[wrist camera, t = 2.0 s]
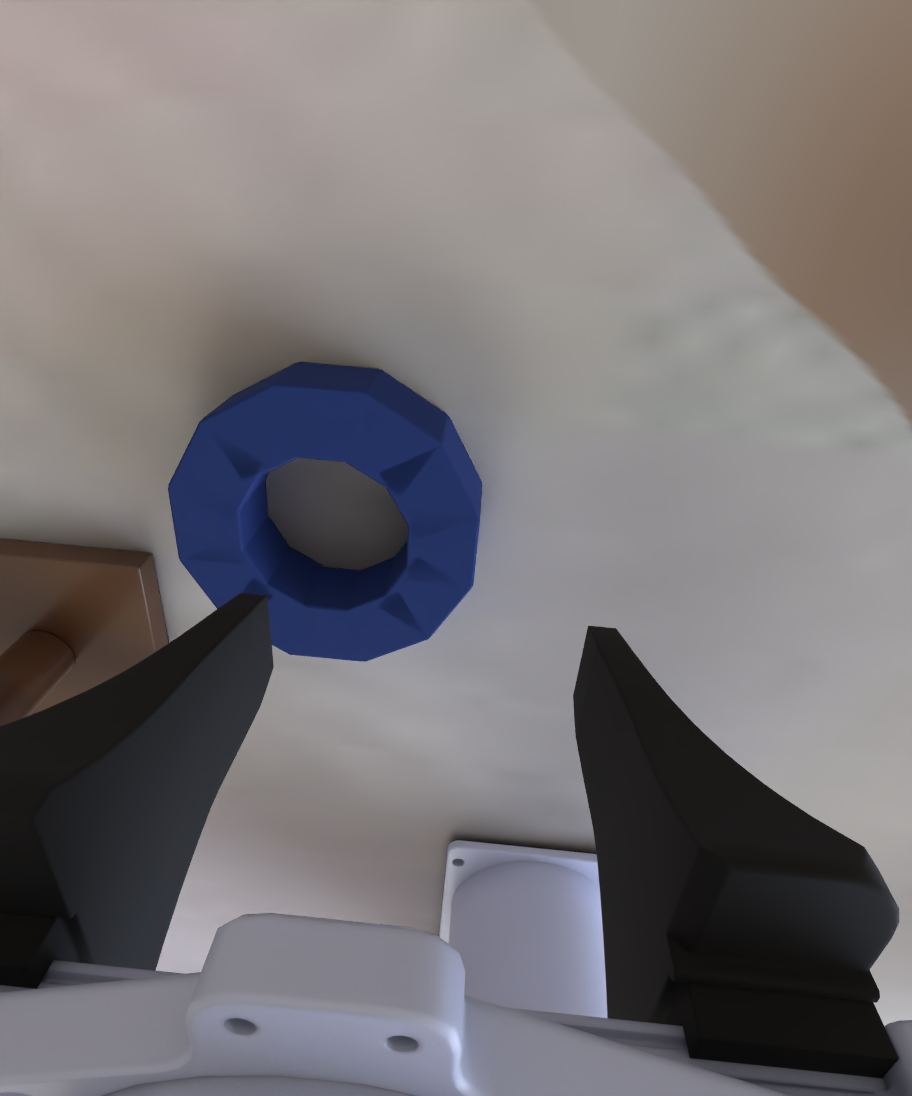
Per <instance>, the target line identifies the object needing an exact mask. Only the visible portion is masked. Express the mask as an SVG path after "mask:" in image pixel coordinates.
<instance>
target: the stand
mask: <svg viewBox="0 0 912 1096" xmlns="http://www.w3.org/2000/svg"><path fill="white" fill-rule="evenodd" d="M167 644H169V642H168V636H167V631H166V625H165V620H164V614H163V609H162V603H161V598H160V592H159V587H158V581H157V576H156V570H155V565H154V559H153V554H152V553H144V552H134V551H123V550H113V549H102V548H91V547H81V546H70V545H60V544H49V543H38V542H28V541H17V540H7V539H0V726H2V725H5V724H8V723H11V722H14V721H16V720H19V719H22V718H24V717H27V716H29V715H32V714H35V713H37V712H40V711H42V710H44V709H47V708H49V707H51V706H53V705H56V704H58V703H60V702H63V701H65V700H67V699H69V698H72V697H74V696H76V695H78V694H81V693H83V692H85V691H87V690H89V689H91V688H93V687H95V686H97V685H99V684H101V683H103V682H105V681H107V680H109V679H111V678H112V677H114V676H116V675H118V674H120V673H122V672H123V671H125V670H127V669H129V668H130V667H132V666H134V665H136V664H137V663H139V662H141V661H142V660H144V659H145V658H147V657H148V656H150V655H152V654H153V653H155V652H156V651H158V650H159V649H161V648H162V647H164V646H166V645H167Z"/></svg>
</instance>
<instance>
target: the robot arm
mask: <svg viewBox="0 0 912 1096" xmlns="http://www.w3.org/2000/svg"><path fill="white" fill-rule="evenodd" d="M272 670H273V656H272V644H271V633H270V621H269V609H268V598H267V595H257V594H246V593H240V594H238V595H237V596H235V597H234V598H232V599H231V600H230V601H228V602H227V603H225V604H224V605H223V606H221V607H220V608H218V609H217V610H216V611H214V612H213V613H212V614H210V615H209V616H207V617H206V618H205V619H203V620H202V621H201V622H199V623H198V624H196V625H195V626H193V627H192V628H191V629H189V630H188V631H186V632H185V633H184V634H182V635H181V636H179V637H178V638H176V639H175V640H173V641H172V642H170V643H169V644H167V645H166V646H164V647H162V648H161V649H159V650H158V651H156V652H155V653H153V654H152V655H150V656H148V657H147V658H145V659H144V660H142V661H141V662H139V663H137V664H136V665H134V666H132V667H130V668H129V669H127V670H125V671H123V672H122V673H120V674H118V675H116V676H114V677H112V678H111V679H109V680H107V681H105V682H103V683H101V684H99V685H97V686H95V687H93V688H91V689H89V690H87V691H85V692H83V693H81V694H78V695H76V696H74V697H72V698H69V699H67V700H65V701H63V702H60V703H58V704H56V705H53V706H51V707H49V708H47V709H44V710H42V711H40V712H37V713H35V714H32V715H29V716H27V717H24V718H22V719H19V720H16V721H14V722H11V723H8V724H5V725H2V726H0V1096H912V1020H905V1021H896V1022H893V1023H889V1024H887V1025H886V1026H885V1027H884V1025H883V1023H882V1021H881V1018H880V1016H879V1014H878V1012H877V1010H876V1007H875V1005H874V1003H873V1002H877V1001H878V1000H879V998H880V993H879V989H878V987H877V985H876V983H875V981H874V979H873V977H872V975H871V972H870V968H871V967H872V965H873V964H874V962H875V961H876V960H877V958H878V957H879V955H880V954H881V953H882V951H883V950H884V948H885V947H886V945H887V944H888V943H889V941H890V940H891V938H892V936H893V934H894V932H895V930H896V928H897V926H898V923H899V908H898V906H897V904H896V902H895V900H894V898H893V897H892V895H891V893H890V891H889V889H888V887H887V885H886V883H885V881H884V879H883V877H882V875H881V873H880V871H879V870H878V868H877V867H876V865H875V863H874V862H873V860H872V859H871V857H870V855H869V854H868V852H867V851H866V849H865V847H863V846H861V845H860V844H858V843H856V842H855V841H853V840H851V839H849V838H848V837H846V836H844V835H842V834H841V833H839V832H837V831H836V830H834V829H832V828H830V827H829V826H827V825H825V824H824V823H822V822H820V821H818V820H817V819H815V818H813V817H812V816H810V815H809V814H807V813H806V812H804V811H803V810H801V809H800V808H798V807H797V806H795V805H794V804H792V803H791V802H789V801H788V800H786V799H785V798H783V797H782V796H780V795H779V794H777V793H776V792H775V791H773V790H772V789H770V788H769V787H768V786H766V785H765V784H763V783H762V782H761V781H760V780H758V779H757V778H756V777H754V776H753V775H752V774H751V773H749V772H748V771H747V770H745V769H744V768H743V767H742V766H740V765H739V764H738V763H737V762H735V761H734V760H733V759H732V758H731V757H729V756H728V755H727V754H726V753H725V752H724V751H722V750H721V749H720V748H719V747H718V746H717V745H716V744H715V743H714V742H713V741H712V740H710V739H709V738H708V737H707V736H706V735H705V734H704V733H703V732H702V731H701V730H700V729H699V728H698V727H697V726H696V725H695V724H694V723H693V722H692V721H691V720H690V719H689V718H688V717H687V716H686V715H685V714H684V713H683V712H682V711H681V709H680V708H679V707H678V706H677V705H676V704H675V703H674V702H673V701H672V700H671V699H670V697H669V696H668V695H667V694H666V693H665V691H664V690H663V689H662V688H661V687H660V685H659V684H658V683H657V682H656V680H655V679H654V678H653V677H652V676H651V674H650V673H649V672H648V670H647V669H646V668H645V667H644V665H643V664H642V663H641V661H640V660H639V659H638V657H637V656H636V655H635V653H634V652H633V651H632V649H631V648H630V647H629V645H628V644H627V642H626V641H625V640H624V638H623V637H622V636H621V635H620V633H619V632H618V631H617V629H616V628H605V627H595V626H588V630H587V634H586V639H585V644H584V648H583V653H582V658H581V662H580V667H579V672H578V677H577V681H576V686H575V691H574V695H573V698H574V717H575V732H576V740H577V746H578V751H579V757H580V762H581V767H582V772H583V778H584V783H585V788H586V793H587V798H588V803H589V808H590V813H591V819H592V824H593V830H594V836H595V843H596V852H597V854H590V853H580V852H571V851H561V850H551V849H541V848H531V847H521V846H512V845H502V844H492V843H482V842H472V841H462V840H456V841H453V842H451V843H450V844H449V846H448V853H447V863H446V872H445V882H444V892H443V902H442V911H441V921H440V931H439V937H438V936H437V935H435V934H432V933H428V932H424V931H420V930H417V929H413V928H409V927H402V926H392V925H382V924H372V923H363V922H353V921H343V920H334V919H324V918H314V917H305V916H295V915H285V914H276V913H264V914H246V915H242V916H240V917H238V918H236V919H234V920H232V921H230V922H229V923H227V924H225V925H223V926H221V927H219V928H218V929H217V932H216V935H215V937H214V940H213V943H212V945H211V948H210V950H209V953H208V956H207V958H206V961H205V964H204V966H203V969H202V971H201V972H199V973H189V974H182V973H172V972H163V971H155V970H156V967H157V963H158V960H159V957H160V953H161V950H162V946H163V943H164V940H165V937H166V934H167V931H168V928H169V925H170V922H171V919H172V916H173V913H174V909H175V906H176V903H177V900H178V897H179V894H180V891H181V888H182V885H183V883H184V880H185V877H186V874H187V871H188V868H189V865H190V863H191V860H192V857H193V854H194V851H195V848H196V846H197V843H198V840H199V838H200V835H201V832H202V830H203V827H204V824H205V822H206V819H207V816H208V814H209V811H210V808H211V806H212V804H213V802H214V799H215V797H216V795H217V793H218V790H219V788H220V786H221V784H222V782H223V780H224V778H225V776H226V774H227V772H228V770H229V768H230V766H231V764H232V762H233V760H234V758H235V756H236V754H237V752H238V750H239V748H240V746H241V744H242V742H243V740H244V738H245V736H246V734H247V732H248V730H249V728H250V726H251V724H252V722H253V720H254V718H255V716H256V714H257V712H258V710H259V708H260V705H261V703H262V700H263V697H264V694H265V691H266V688H267V685H268V682H269V679H270V676H271V673H272Z"/></svg>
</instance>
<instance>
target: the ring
mask: <svg viewBox="0 0 912 1096" xmlns="http://www.w3.org/2000/svg"><path fill="white" fill-rule="evenodd" d="M296 458H307V459H318V460H329V461H340V462H346V463H348V464H349V465H351V466H352V467H354V468H355V469H357V470H359V471H360V472H362V473H363V474H365V475H367V476H368V477H370V478H371V479H373V480H374V481H376V482H378V483H379V484H381V485H382V486H384V487H386V488H387V490H388V492H389V493H390V495H391V497H392V499H393V500H394V502H395V504H396V506H397V507H398V509H399V511H400V513H401V514H402V516H403V518H404V520H405V521H406V523H407V525H408V538H407V541H406V543H405V544H404V546H403V547H402V548H401V550H400V551H399V552H398V554H397V555H396V556H395V557H394V558H391V559H389V560H386V561H384V562H381V563H379V564H376V565H374V566H371V567H369V568H366V569H364V570H361V571H360V570H350V569H339V568H328V567H324V566H322V565H320V564H319V563H317V562H315V561H313V560H312V559H310V558H308V557H307V556H305V555H303V554H301V553H300V552H298V551H296V550H295V549H293V548H291V547H289V546H288V544H287V543H286V541H285V540H284V538H283V537H282V535H281V534H280V532H279V531H278V529H277V528H276V526H275V525H274V523H273V522H272V520H271V519H270V517H269V516H268V509H267V496H266V483H265V479H266V477H267V475H268V473H269V472H270V471H271V470H273V469H275V468H277V467H279V466H282V465H284V464H286V463H288V462H290V461H292V460H294V459H296ZM168 492H169V498H170V504H171V511H172V517H173V523H174V530H175V536H176V542H177V548H178V555H179V559H180V561H181V562H182V564H183V565H184V566H185V568H186V569H187V570H188V571H189V573H190V574H191V575H192V577H193V578H194V579H195V581H196V582H197V583H198V584H199V586H200V587H201V588H202V590H203V591H204V592H205V593H206V595H207V596H208V597H209V599H210V600H211V601H212V603H213V604H214V605H215V606H216V608H217V609H218V608H220V607H221V606H223V605H224V604H225V603H227V602H228V601H230V600H231V599H232V598H234V597H235V596H237V595H238V594H240V593H246V594H257V595H267V598H268V609H269V621H270V633H271V644H272V645H273V646H275V647H277V648H279V649H281V650H283V651H285V652H286V653H288V654H290V655H292V654H293V655H301V656H311V657H322V658H332V659H342V660H353V661H364V662H365V661H368V660H371V659H374V658H377V657H379V656H382V655H385V654H388V653H391V652H393V651H396V650H399V649H402V648H405V647H407V646H410V645H413V644H416V643H419V642H421V641H424V640H427V639H429V638H430V637H431V636H432V634H433V633H434V632H435V631H436V630H437V628H438V627H439V626H440V625H441V624H442V622H443V621H444V620H445V619H446V618H447V617H448V615H449V614H450V613H451V612H452V611H453V609H454V608H455V607H456V606H457V605H458V603H459V602H460V601H461V600H462V599H463V597H464V596H465V595H466V594H467V593H468V591H469V590H470V589H471V588H472V586H473V582H474V572H475V562H476V552H477V542H478V532H479V522H480V510H481V494H482V482H481V480H480V478H479V476H478V474H477V472H476V470H475V468H474V465H473V463H472V461H471V459H470V457H469V455H468V453H467V451H466V449H465V447H464V445H463V443H462V441H461V439H460V437H459V435H458V433H457V431H456V429H455V427H454V425H453V423H452V421H451V419H450V417H449V416H448V415H447V414H446V413H444V412H443V411H441V410H440V409H438V408H437V407H435V406H434V405H432V404H431V403H430V402H428V401H427V400H425V399H424V398H422V397H421V396H419V395H418V394H416V393H415V392H413V391H412V390H410V389H409V388H407V387H406V386H404V385H403V384H402V383H400V382H399V381H397V380H396V379H394V378H393V377H391V376H390V375H388V374H387V373H385V372H384V371H382V370H379V369H374V368H362V367H351V366H340V365H328V364H317V363H306V362H299V363H295V364H293V365H291V366H289V367H287V368H285V369H283V370H281V371H279V372H277V373H275V374H273V375H272V376H270V377H268V378H266V379H264V380H262V381H260V382H258V383H256V384H254V385H252V386H250V387H248V388H246V389H244V390H242V391H240V392H238V393H237V394H235V395H233V396H232V397H230V398H229V399H228V400H226V401H225V402H224V403H222V404H221V405H220V406H219V407H217V408H216V409H215V410H213V411H212V412H211V413H210V414H208V415H207V416H206V417H204V418H203V419H202V420H201V421H200V422H199V424H198V426H197V428H196V430H195V432H194V434H193V436H192V438H191V440H190V442H189V444H188V446H187V448H186V451H185V453H184V455H183V457H182V459H181V461H180V463H179V465H178V467H177V469H176V471H175V473H174V475H173V477H172V479H171V481H170V483H169V487H168Z"/></svg>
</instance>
